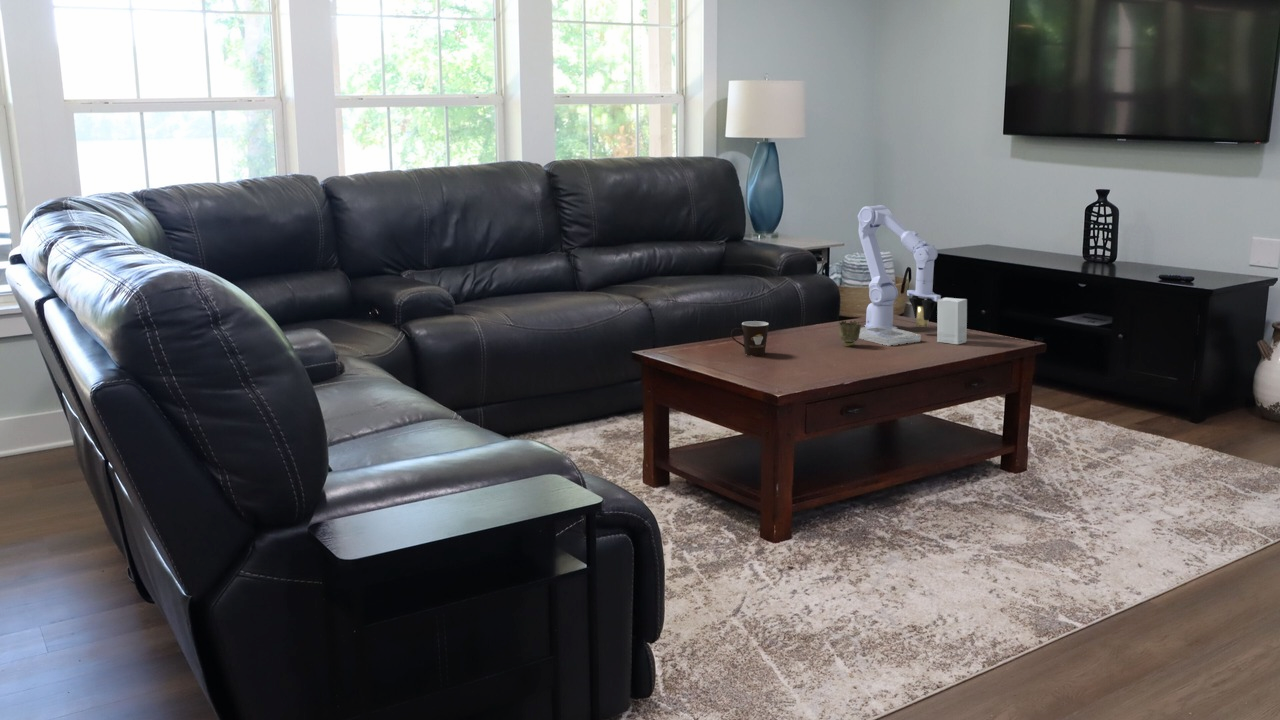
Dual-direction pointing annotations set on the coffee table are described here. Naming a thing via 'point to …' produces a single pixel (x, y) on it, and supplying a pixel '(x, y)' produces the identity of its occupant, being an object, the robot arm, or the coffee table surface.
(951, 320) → the skincare box
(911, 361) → the coffee table surface
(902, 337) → the jig plate
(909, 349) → the coffee table surface
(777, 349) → the coffee table surface
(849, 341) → the cup
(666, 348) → the coffee table surface
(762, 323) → the coffee mug
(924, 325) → the brass sleeve
